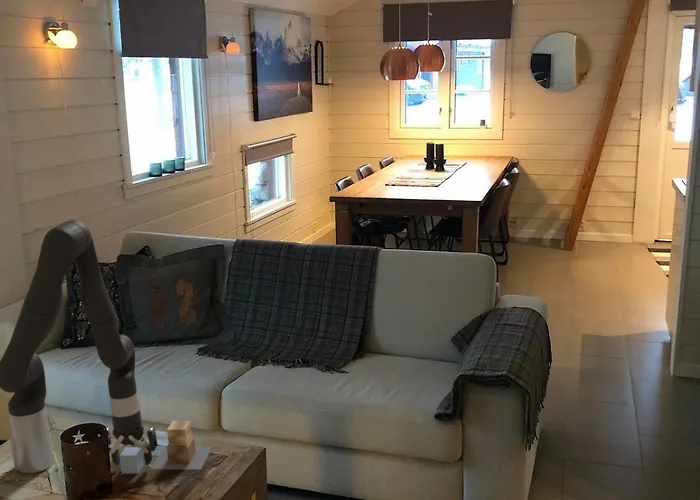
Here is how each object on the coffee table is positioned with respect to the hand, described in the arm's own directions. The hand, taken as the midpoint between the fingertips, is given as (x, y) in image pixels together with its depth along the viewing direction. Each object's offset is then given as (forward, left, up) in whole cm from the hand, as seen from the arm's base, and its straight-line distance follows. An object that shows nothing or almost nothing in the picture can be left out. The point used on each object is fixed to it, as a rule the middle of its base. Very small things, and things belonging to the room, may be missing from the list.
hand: (132, 463), depth 203 cm
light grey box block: (0, 0, -2) cm, 2 cm away
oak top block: (+12, +6, +3) cm, 14 cm away
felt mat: (+12, +6, -2) cm, 13 cm away
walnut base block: (+12, +6, -2) cm, 13 cm away
